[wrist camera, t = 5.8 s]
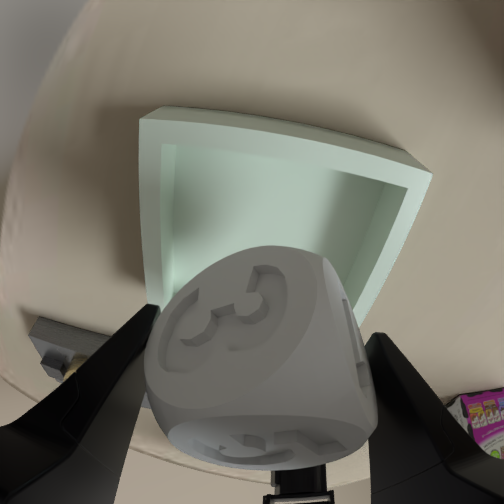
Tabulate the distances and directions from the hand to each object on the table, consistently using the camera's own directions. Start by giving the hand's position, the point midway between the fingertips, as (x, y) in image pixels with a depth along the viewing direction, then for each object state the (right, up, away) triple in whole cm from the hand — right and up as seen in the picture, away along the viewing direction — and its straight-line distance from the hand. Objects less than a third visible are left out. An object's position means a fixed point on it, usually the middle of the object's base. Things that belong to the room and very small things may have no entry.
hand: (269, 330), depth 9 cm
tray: (0, +3, +4) cm, 6 cm away
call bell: (-13, -6, +12) cm, 19 cm away
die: (0, +1, +1) cm, 1 cm away
